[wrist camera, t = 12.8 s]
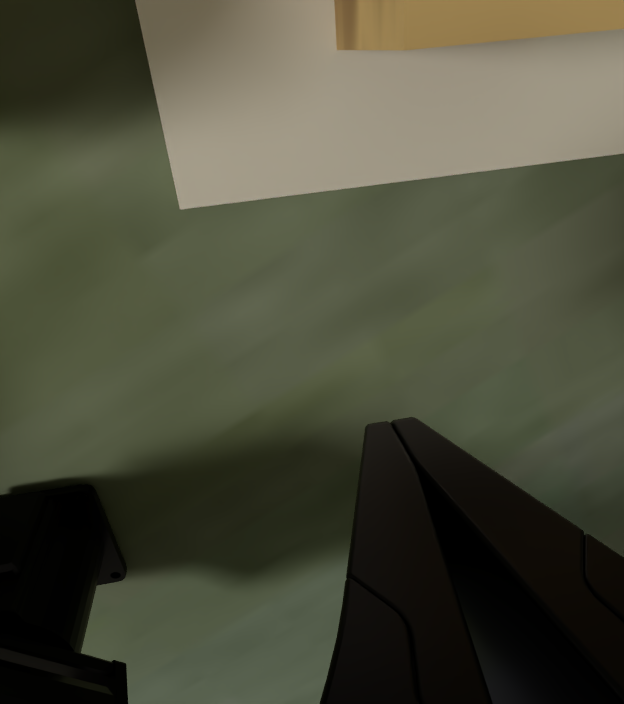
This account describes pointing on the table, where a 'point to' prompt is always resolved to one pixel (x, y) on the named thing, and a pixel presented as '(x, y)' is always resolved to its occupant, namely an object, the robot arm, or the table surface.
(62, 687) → the robot arm
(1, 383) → the table surface
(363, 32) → the taped shipping carton
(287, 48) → the base board
